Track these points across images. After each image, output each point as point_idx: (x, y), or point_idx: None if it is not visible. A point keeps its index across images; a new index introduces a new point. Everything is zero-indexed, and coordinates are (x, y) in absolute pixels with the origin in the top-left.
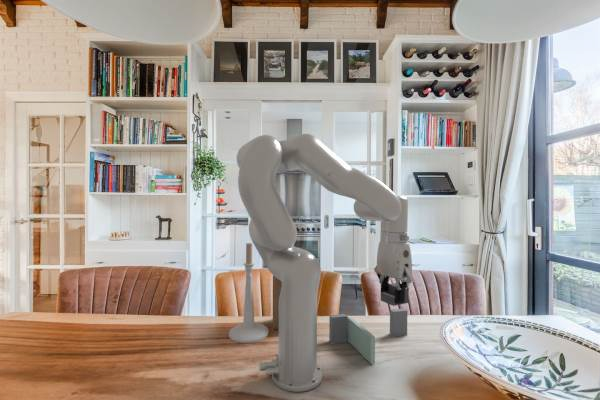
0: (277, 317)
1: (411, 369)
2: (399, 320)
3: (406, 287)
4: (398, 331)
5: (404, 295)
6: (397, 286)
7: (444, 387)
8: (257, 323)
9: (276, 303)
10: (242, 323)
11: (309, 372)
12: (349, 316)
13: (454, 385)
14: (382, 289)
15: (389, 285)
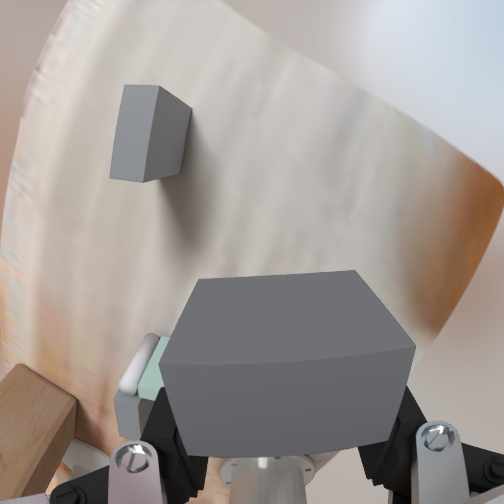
0: (65, 450)
1: (381, 277)
2: (166, 141)
3: (464, 447)
4: (179, 147)
5: (412, 396)
6: (400, 501)
7: (462, 260)
8: (70, 457)
9: (53, 474)
10: (71, 469)
11: (304, 484)
12: (125, 385)
13: (470, 231)
14: (205, 461)
15: (205, 448)
